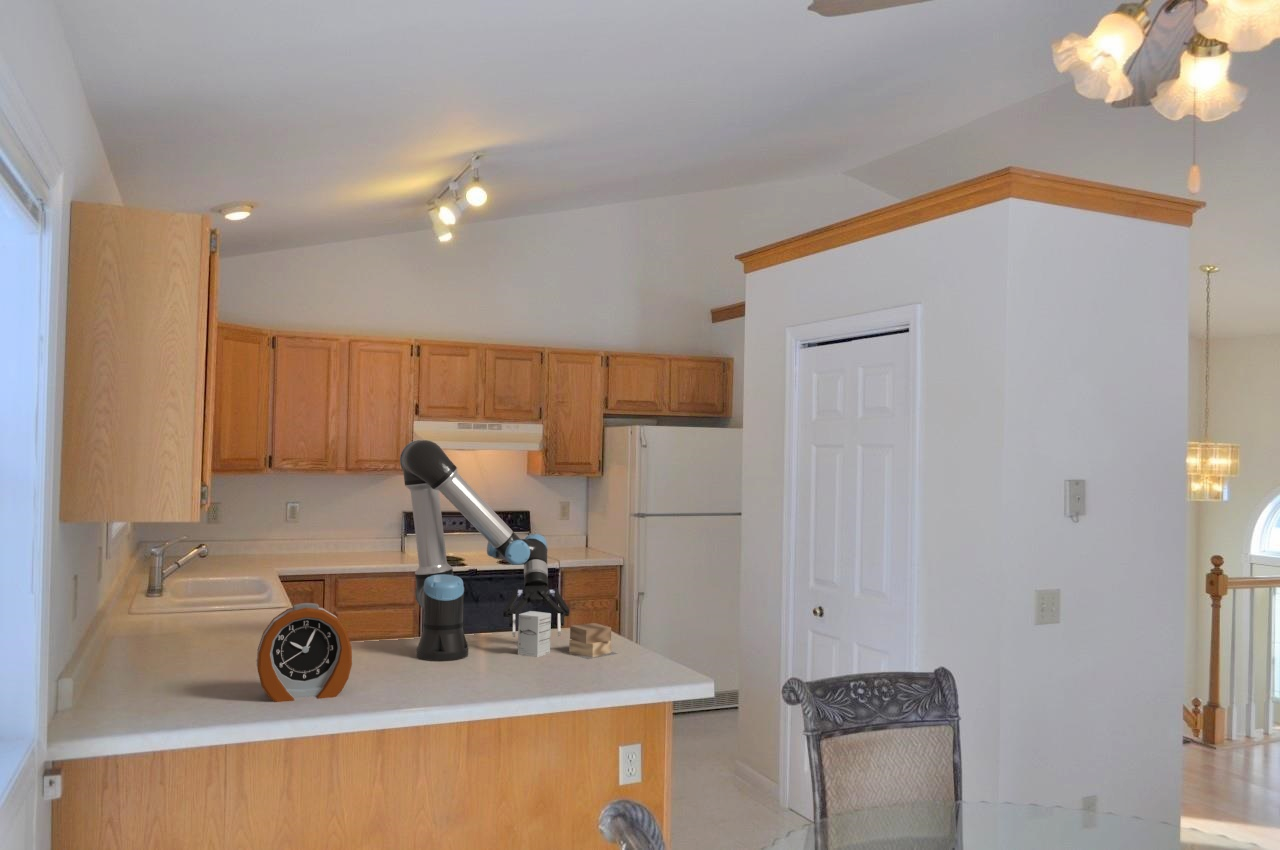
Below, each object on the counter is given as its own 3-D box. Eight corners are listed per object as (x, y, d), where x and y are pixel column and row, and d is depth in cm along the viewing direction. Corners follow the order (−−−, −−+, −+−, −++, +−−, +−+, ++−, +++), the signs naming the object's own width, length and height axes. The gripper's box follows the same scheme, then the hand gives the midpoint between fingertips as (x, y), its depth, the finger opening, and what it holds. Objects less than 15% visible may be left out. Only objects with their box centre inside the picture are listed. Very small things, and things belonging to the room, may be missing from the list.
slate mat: (588, 660, 285) (588, 658, 285) (562, 653, 294) (562, 652, 294) (618, 654, 294) (618, 653, 294) (592, 648, 302) (592, 647, 302)
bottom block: (592, 657, 288) (592, 643, 288) (569, 653, 293) (569, 640, 293) (611, 652, 295) (611, 639, 295) (588, 648, 300) (588, 635, 300)
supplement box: (516, 656, 290) (517, 613, 290) (530, 651, 297) (531, 610, 297) (537, 658, 287) (538, 616, 287) (551, 654, 293) (551, 612, 294)
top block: (586, 643, 288) (586, 630, 288) (570, 638, 295) (570, 625, 295) (611, 640, 293) (611, 627, 293) (594, 635, 300) (594, 622, 300)
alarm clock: (257, 703, 232) (259, 609, 233) (255, 694, 241) (258, 603, 242) (352, 695, 241) (354, 604, 242) (347, 686, 250) (349, 598, 251)
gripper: (574, 584, 311) (577, 640, 295) (496, 585, 307) (494, 642, 292) (575, 569, 305) (578, 626, 290) (496, 570, 302) (494, 627, 287)
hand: (536, 634), depth 291 cm, fingers open, 13 cm apart
